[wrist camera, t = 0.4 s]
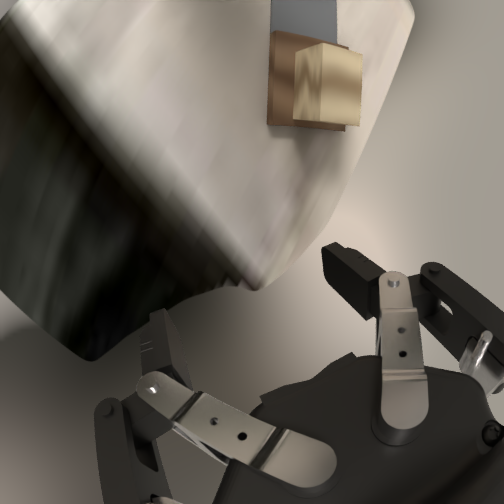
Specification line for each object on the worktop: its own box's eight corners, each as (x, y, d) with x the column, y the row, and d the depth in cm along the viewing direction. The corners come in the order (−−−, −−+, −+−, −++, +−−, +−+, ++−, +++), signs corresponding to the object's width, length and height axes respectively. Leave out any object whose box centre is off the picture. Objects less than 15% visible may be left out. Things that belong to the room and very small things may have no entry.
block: (295, 52, 32) (322, 42, 26) (332, 60, 34) (362, 54, 28) (292, 119, 36) (319, 120, 30) (329, 123, 38) (359, 126, 32)
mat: (272, -38, 25) (273, -39, 25) (334, -20, 29) (335, -20, 28) (270, 33, 31) (271, 33, 31) (335, 47, 35) (336, 47, 35)
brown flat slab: (270, 33, 31) (275, 30, 30) (340, 49, 35) (348, 47, 33) (266, 124, 37) (272, 124, 36) (337, 130, 41) (345, 131, 39)
